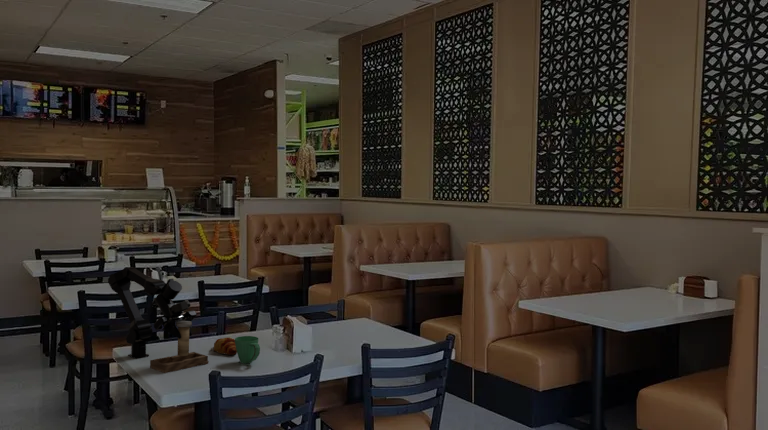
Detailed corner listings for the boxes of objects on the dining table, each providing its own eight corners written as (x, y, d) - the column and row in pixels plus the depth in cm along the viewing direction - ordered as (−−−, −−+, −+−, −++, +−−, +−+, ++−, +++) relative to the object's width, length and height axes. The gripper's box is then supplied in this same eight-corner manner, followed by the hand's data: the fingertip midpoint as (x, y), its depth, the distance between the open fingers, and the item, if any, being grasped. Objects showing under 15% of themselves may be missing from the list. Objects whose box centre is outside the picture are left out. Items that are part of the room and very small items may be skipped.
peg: (173, 353, 269) (174, 321, 268) (189, 352, 272) (189, 320, 271) (176, 357, 263) (177, 324, 263) (192, 355, 266) (193, 323, 266)
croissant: (211, 354, 301) (203, 340, 299) (229, 342, 306) (222, 328, 304) (229, 364, 284) (221, 349, 281) (248, 351, 289) (241, 336, 287)
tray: (165, 373, 258) (165, 365, 258) (150, 367, 265) (150, 360, 265) (208, 363, 273) (208, 356, 273) (193, 358, 280) (193, 351, 280)
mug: (230, 361, 277) (230, 337, 277) (250, 357, 284) (251, 334, 283) (247, 369, 266) (247, 344, 266) (268, 365, 273) (268, 341, 272)
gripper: (159, 297, 260) (179, 328, 255) (194, 291, 276) (213, 320, 272) (145, 314, 264) (164, 345, 260) (180, 307, 281) (198, 336, 276)
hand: (185, 336), depth 267 cm, fingers closed on peg, 5 cm apart
